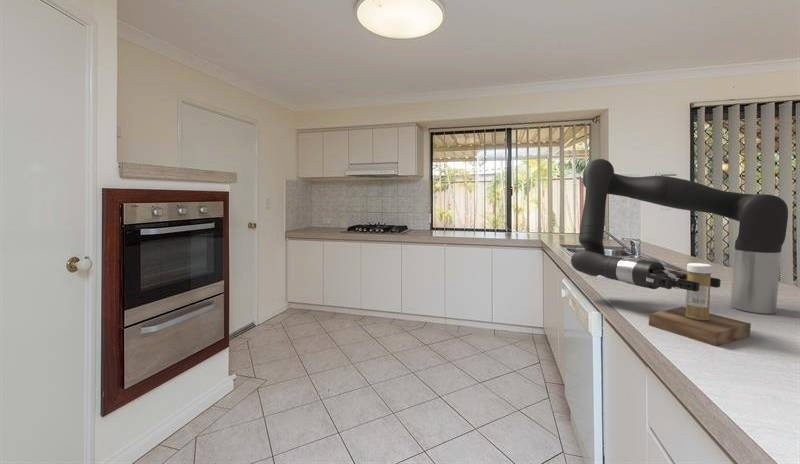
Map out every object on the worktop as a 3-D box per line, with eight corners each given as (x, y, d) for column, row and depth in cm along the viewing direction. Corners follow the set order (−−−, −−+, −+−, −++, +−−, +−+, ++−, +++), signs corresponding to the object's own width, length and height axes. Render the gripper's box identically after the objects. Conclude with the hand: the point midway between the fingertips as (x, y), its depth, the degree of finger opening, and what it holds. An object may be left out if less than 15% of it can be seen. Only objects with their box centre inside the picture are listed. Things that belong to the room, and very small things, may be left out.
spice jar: (712, 318, 83) (715, 264, 82) (705, 322, 81) (708, 266, 80) (688, 313, 87) (691, 261, 86) (681, 317, 85) (684, 263, 83)
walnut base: (681, 317, 93) (682, 306, 93) (749, 335, 80) (750, 323, 80) (648, 325, 88) (649, 313, 88) (715, 346, 75) (716, 332, 75)
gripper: (623, 261, 93) (692, 272, 78) (656, 257, 98) (727, 267, 84) (621, 288, 94) (690, 304, 79) (655, 283, 99) (725, 297, 84)
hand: (709, 285), depth 81 cm, fingers open, 8 cm apart
